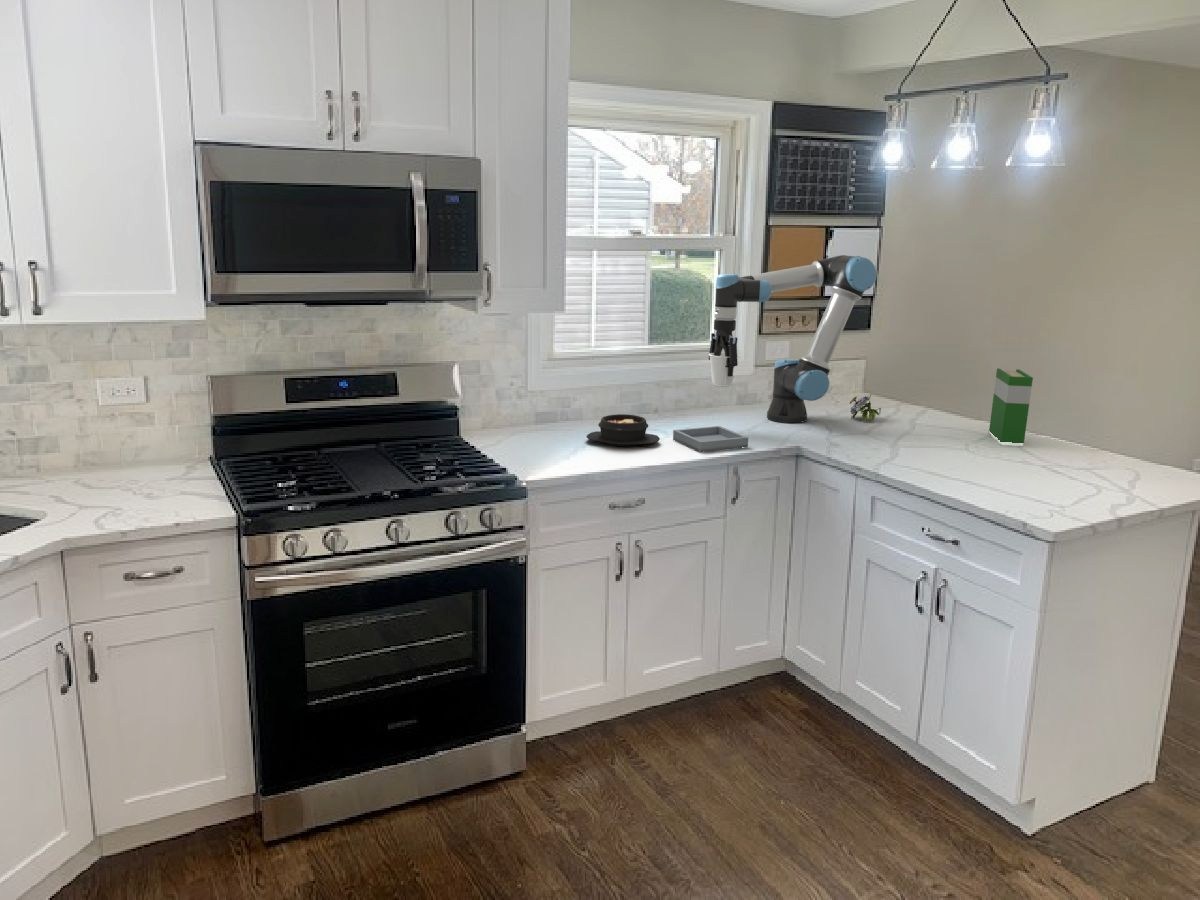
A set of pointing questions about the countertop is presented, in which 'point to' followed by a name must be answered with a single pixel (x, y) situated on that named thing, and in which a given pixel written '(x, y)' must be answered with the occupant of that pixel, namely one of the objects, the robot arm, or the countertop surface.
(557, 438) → the countertop surface
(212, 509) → the countertop surface
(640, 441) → the casserole
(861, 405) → the passion flower
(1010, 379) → the hardback book
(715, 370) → the cup
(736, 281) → the robot arm
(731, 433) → the tray
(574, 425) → the countertop surface
